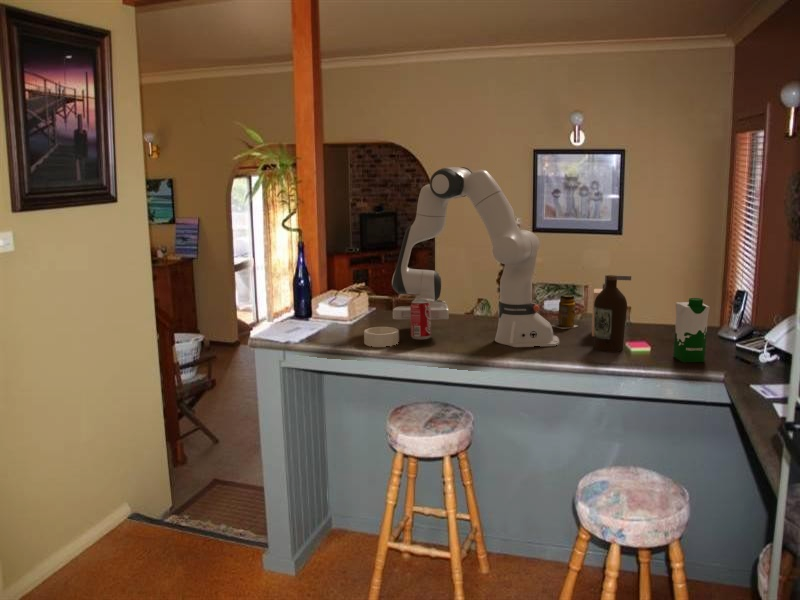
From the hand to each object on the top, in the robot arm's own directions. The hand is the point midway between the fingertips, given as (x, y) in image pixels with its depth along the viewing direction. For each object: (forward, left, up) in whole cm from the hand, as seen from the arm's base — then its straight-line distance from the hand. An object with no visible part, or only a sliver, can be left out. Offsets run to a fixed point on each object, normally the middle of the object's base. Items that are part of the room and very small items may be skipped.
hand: (419, 317), depth 248 cm
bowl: (+13, 0, -9) cm, 16 cm away
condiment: (-54, -31, -10) cm, 63 cm away
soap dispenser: (-69, -18, -10) cm, 72 cm away
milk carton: (-88, +14, -10) cm, 89 cm away
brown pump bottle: (-65, +2, -10) cm, 65 cm away
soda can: (-1, 0, -8) cm, 8 cm away
